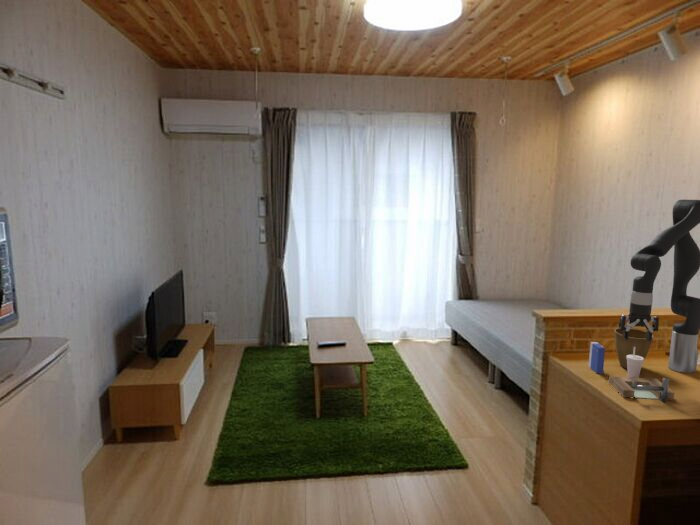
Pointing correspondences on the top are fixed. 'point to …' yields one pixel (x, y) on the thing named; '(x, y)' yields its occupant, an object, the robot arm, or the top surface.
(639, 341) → the plant pot
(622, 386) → the tan frame
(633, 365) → the smoothie
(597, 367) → the walkman
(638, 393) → the bay mat
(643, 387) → the dark grey piece
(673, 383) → the top surface
